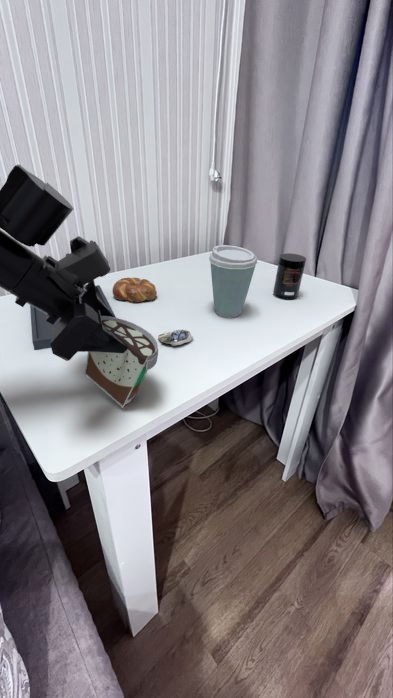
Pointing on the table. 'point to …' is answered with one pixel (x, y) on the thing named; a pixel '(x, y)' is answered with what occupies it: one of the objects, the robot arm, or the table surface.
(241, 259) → the disposable coffee cup
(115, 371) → the food container
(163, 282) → the table surface
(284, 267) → the supplement container
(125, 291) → the pretzel
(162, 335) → the crystal geode
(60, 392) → the table surface
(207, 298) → the table surface
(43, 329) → the tray
